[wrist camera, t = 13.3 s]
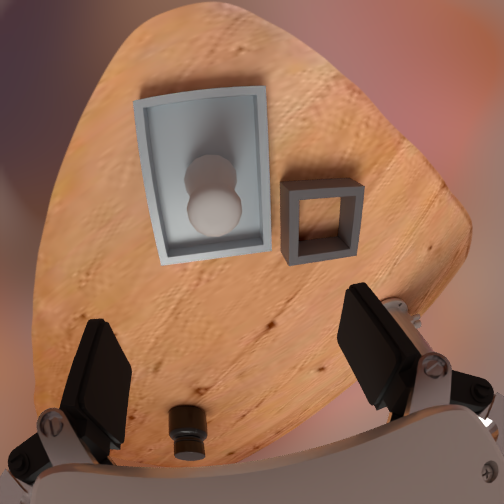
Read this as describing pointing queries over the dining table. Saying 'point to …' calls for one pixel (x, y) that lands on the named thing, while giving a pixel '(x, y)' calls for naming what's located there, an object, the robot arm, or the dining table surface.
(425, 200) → the dining table surface
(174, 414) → the ink bottle
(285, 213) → the holder
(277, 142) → the dining table surface
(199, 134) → the tray
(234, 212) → the salt shaker
